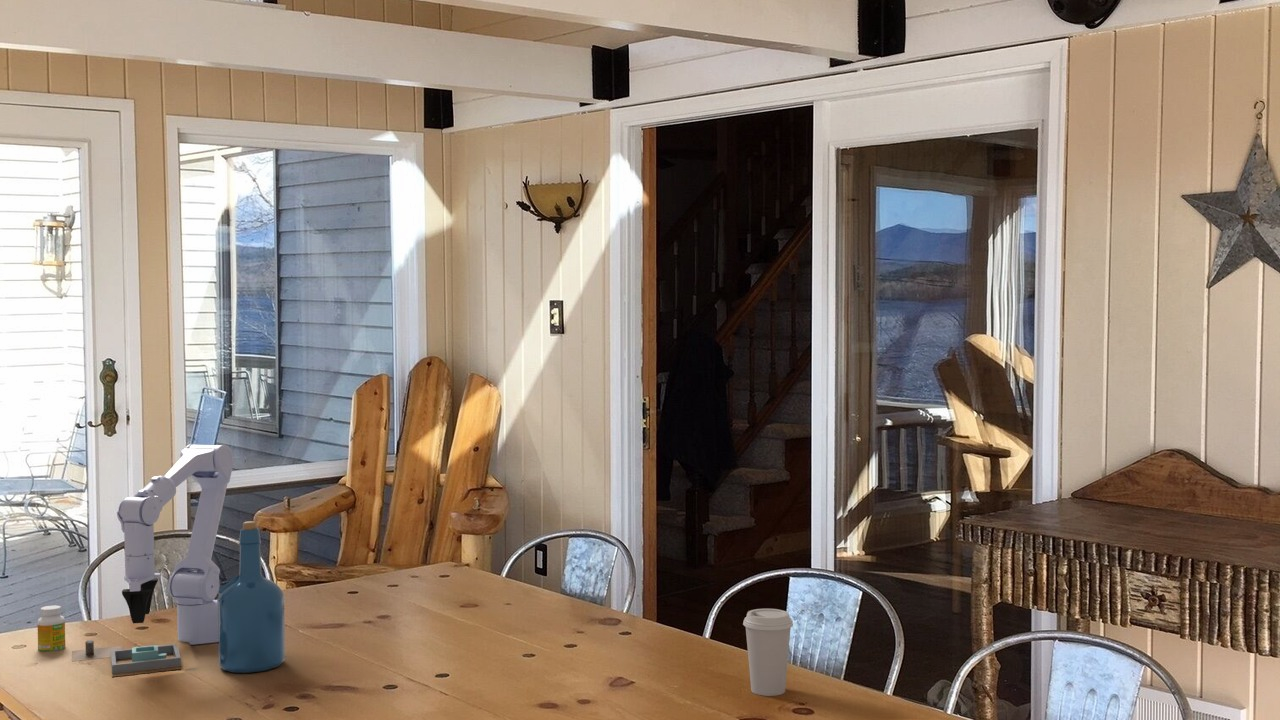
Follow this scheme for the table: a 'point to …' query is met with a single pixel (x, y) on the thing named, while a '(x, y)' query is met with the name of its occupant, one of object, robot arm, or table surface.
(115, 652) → the tray
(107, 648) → the board
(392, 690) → the table surface
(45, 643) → the supplement bottle
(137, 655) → the teal ring
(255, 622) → the wine bottle
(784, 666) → the coffee cup
